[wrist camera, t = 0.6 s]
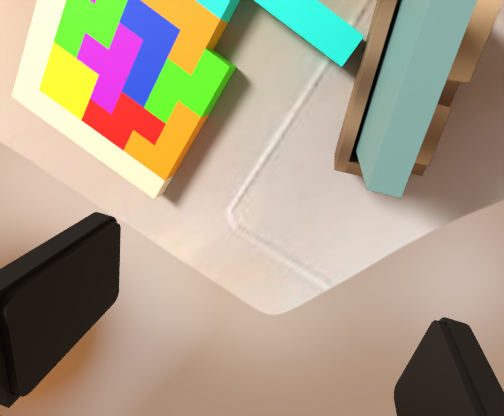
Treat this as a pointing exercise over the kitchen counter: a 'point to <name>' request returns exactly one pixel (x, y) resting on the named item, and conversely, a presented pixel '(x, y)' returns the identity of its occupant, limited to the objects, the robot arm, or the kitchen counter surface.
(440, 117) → the offcut short
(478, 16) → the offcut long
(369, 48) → the rack
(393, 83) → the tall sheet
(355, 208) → the kitchen counter surface
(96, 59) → the puzzle game
